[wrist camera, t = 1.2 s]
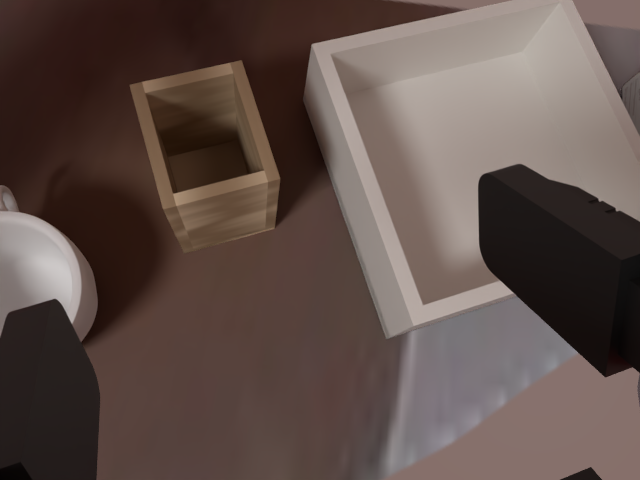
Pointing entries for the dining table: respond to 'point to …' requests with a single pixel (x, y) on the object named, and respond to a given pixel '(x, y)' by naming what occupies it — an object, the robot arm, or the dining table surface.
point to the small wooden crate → (208, 154)
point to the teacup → (42, 267)
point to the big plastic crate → (460, 141)
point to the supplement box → (632, 100)
